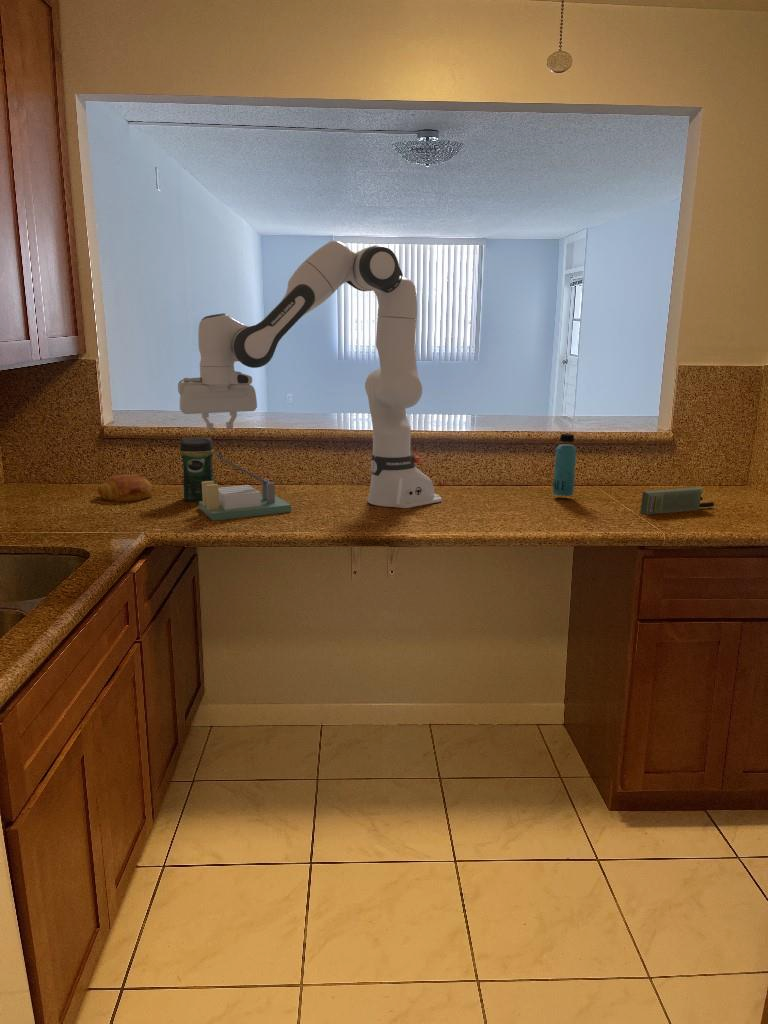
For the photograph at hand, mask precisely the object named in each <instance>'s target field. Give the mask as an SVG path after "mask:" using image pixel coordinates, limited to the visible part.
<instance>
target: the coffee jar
mask: <svg viewBox="0 0 768 1024" xmlns="http://www.w3.org/2000/svg"><path fill="white" fill-rule="evenodd" d="M179 453H180V456H181V459H182V465H183V466H182V467H183V471H182V472H183V475H182V476H183V481H182V484H183V485H182V497H183V499H184V500H185V501H189V502H199V501H203V498H202V482H204V481H213V482H214V484H216V482H215V476H214V468H213V456H214V453H215V449H214V444H213V440H212V438H211V437H201V436H198V437H197V436H195V437H184V438H181V440H180V445H179Z"/></svg>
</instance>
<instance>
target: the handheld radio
mask: <svg viewBox="0 0 768 1024" xmlns="http://www.w3.org/2000/svg"><path fill="white" fill-rule="evenodd" d="M703 489H705V487H702V486H696V487H695V486H694V487H683V488H682V487H681V488H670V489H659V490H658V489H657V490H645V491H644V490H643V491H642V496H641V504H640V512H639V513H640V514H642V515H656V514H657V515H658V514H667V513H668V514H669V513H680V512H690V511H699V510H700V508H710V507H711V508H712V507H714V506H715V503H714V502H713V501H710V502H709V501H708V502H701V501H703V499H704V498H703V497H702V495H703V494H704V491H703Z"/></svg>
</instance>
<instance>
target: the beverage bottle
mask: <svg viewBox="0 0 768 1024" xmlns="http://www.w3.org/2000/svg"><path fill="white" fill-rule="evenodd" d="M559 442H564V443H565V442H566V443H573V442H575V435H574V434H572V433H561V434H560V438H559ZM577 451H578V449H577V447H575V445H573V444H559V445H558V446H556V448H555V458H554V466H553V467H554V471H553V481H552V494H553V495H555V496H561V497H570V496H574V491H575V480H576V479H575V478H576V472H575V471H576V461H577Z"/></svg>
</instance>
